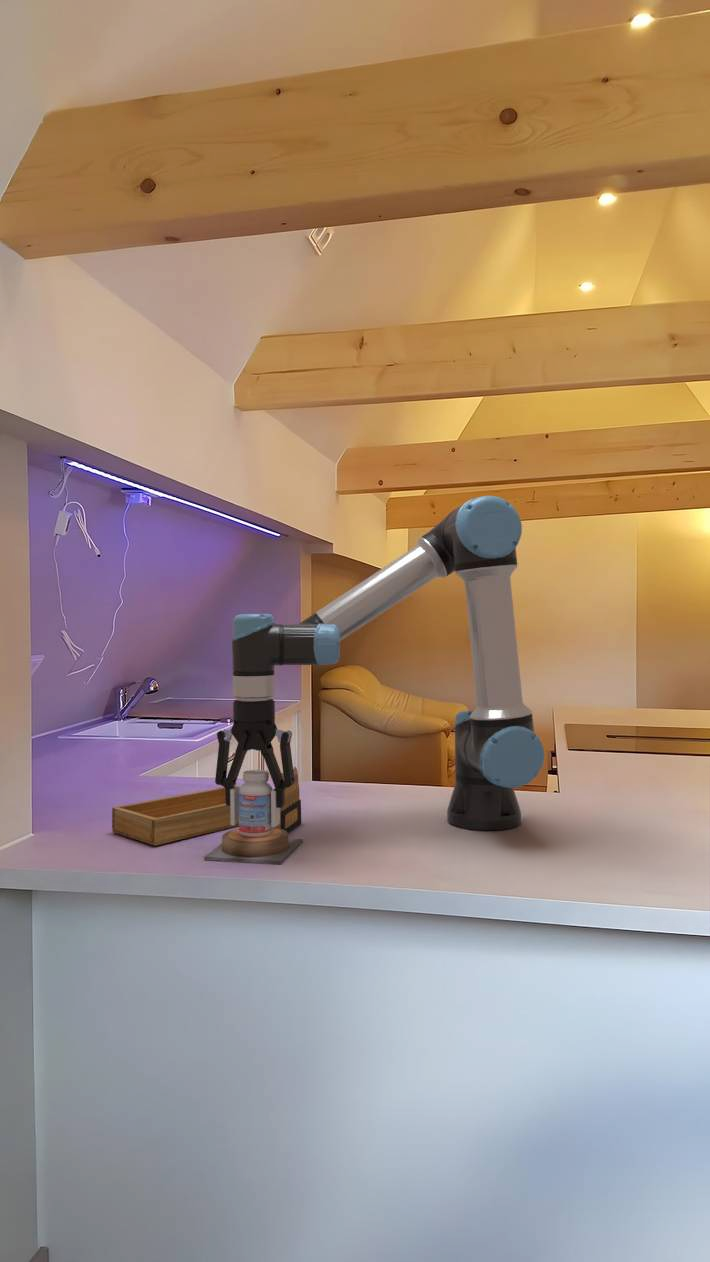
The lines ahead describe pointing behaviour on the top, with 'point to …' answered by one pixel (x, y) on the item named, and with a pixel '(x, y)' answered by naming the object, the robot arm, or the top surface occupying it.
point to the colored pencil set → (291, 807)
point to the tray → (173, 817)
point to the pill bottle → (255, 804)
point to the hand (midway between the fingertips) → (255, 824)
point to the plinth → (255, 847)
